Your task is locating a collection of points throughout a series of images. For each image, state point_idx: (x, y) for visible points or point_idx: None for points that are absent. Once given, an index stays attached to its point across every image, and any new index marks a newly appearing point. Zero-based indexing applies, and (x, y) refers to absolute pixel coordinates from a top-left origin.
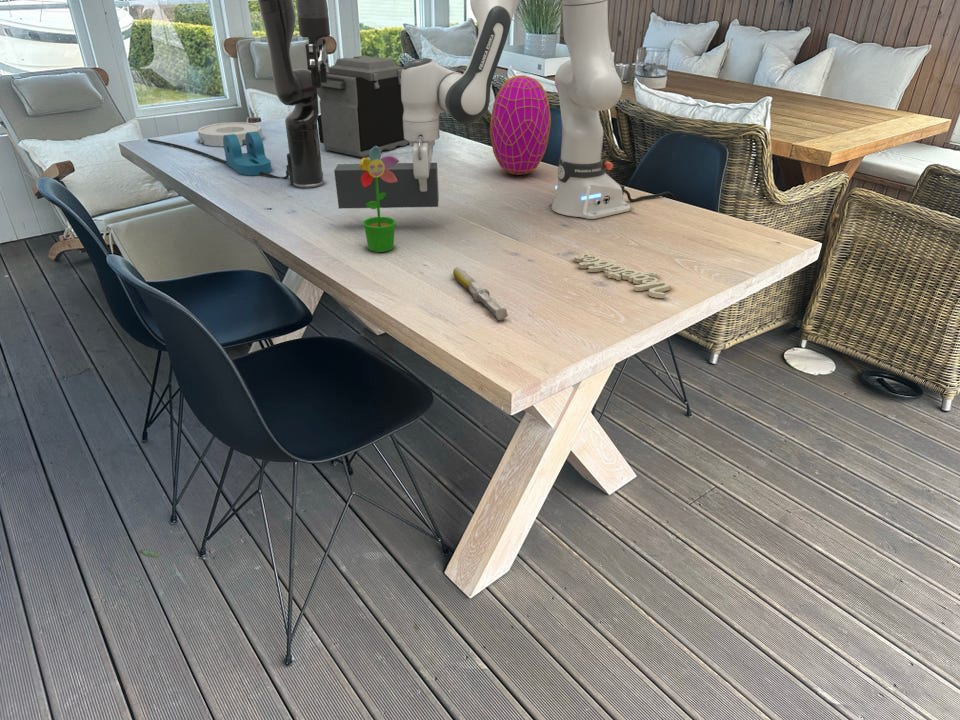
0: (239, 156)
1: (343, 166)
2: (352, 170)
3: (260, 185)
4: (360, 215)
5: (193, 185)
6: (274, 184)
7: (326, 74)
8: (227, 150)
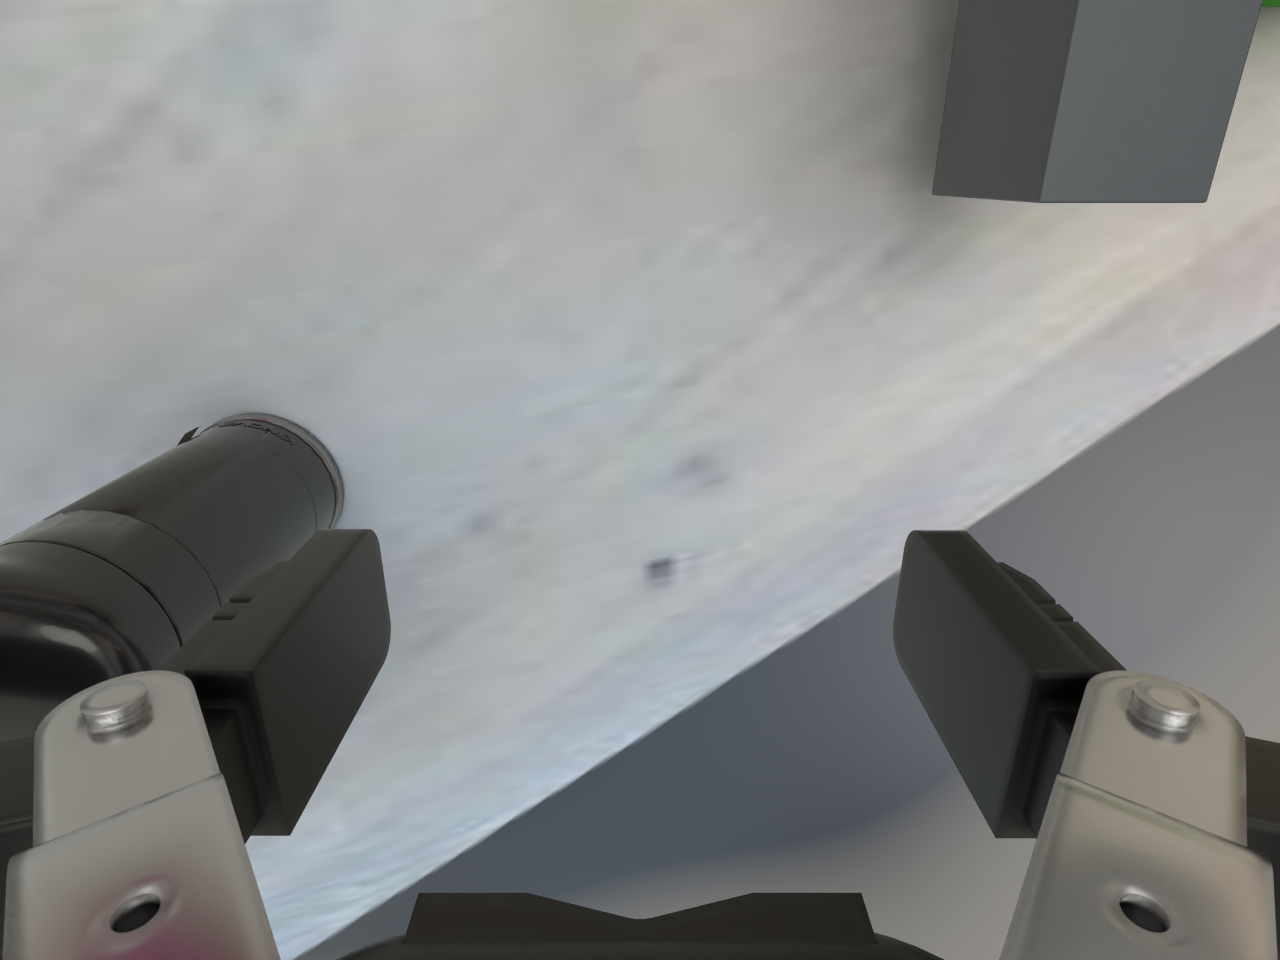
0: None
1: (1119, 145)
2: (1247, 50)
3: None
4: (760, 126)
5: (376, 889)
6: None
7: (290, 586)
8: None
